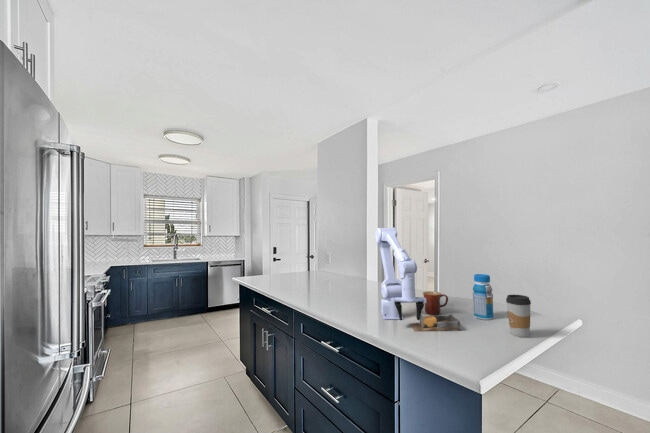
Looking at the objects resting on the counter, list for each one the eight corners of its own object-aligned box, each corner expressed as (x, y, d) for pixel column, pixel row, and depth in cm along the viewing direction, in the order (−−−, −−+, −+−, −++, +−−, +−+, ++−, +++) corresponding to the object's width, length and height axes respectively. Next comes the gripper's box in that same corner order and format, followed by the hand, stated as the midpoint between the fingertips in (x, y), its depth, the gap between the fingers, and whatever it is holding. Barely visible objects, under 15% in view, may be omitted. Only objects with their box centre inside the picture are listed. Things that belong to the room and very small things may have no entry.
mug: (425, 316, 144) (424, 295, 144) (421, 311, 152) (420, 291, 153) (451, 316, 142) (450, 295, 143) (445, 311, 151) (444, 291, 152)
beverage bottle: (474, 319, 137) (472, 276, 138) (473, 314, 145) (471, 273, 146) (495, 321, 134) (493, 276, 135) (492, 315, 142) (490, 274, 143)
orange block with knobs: (422, 327, 125) (421, 316, 125) (418, 323, 131) (418, 312, 131) (437, 327, 125) (437, 316, 125) (433, 323, 131) (432, 312, 131)
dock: (414, 333, 123) (413, 322, 123) (408, 325, 133) (408, 315, 133) (460, 333, 122) (460, 321, 123) (451, 325, 132) (451, 314, 132)
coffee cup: (502, 331, 120) (500, 294, 121) (522, 330, 121) (520, 293, 121) (517, 339, 112) (515, 299, 112) (538, 338, 113) (536, 298, 113)
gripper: (393, 290, 125) (394, 322, 125) (427, 289, 125) (429, 322, 124) (390, 286, 132) (391, 317, 132) (423, 286, 132) (424, 317, 131)
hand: (409, 319), depth 128 cm, fingers open, 7 cm apart
